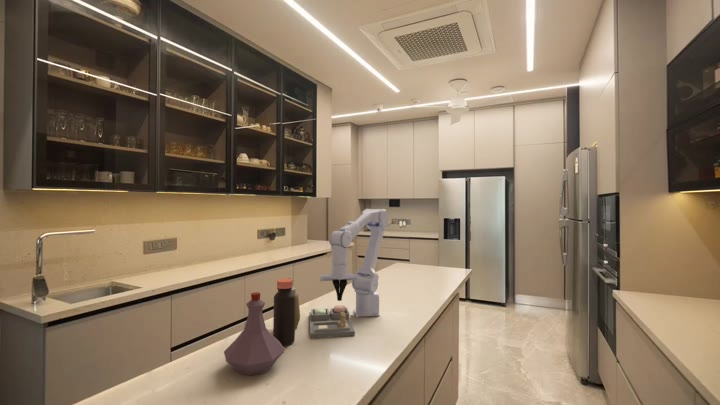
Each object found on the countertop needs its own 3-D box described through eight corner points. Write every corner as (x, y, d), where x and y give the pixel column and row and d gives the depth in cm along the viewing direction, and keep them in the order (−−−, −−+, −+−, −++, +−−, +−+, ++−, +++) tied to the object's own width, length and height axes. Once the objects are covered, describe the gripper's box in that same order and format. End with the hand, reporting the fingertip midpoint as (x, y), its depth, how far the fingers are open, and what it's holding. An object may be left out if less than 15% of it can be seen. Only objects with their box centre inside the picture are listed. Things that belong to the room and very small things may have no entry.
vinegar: (268, 344, 103) (269, 281, 104) (281, 336, 110) (281, 277, 110) (287, 348, 101) (288, 283, 101) (298, 339, 108) (299, 279, 108)
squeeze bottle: (304, 326, 119) (305, 277, 120) (291, 334, 112) (291, 281, 112) (286, 322, 123) (287, 275, 123) (272, 330, 116) (273, 279, 116)
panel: (346, 314, 133) (346, 305, 133) (354, 335, 111) (354, 325, 111) (309, 316, 131) (309, 307, 131) (310, 338, 109) (310, 327, 109)
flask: (262, 348, 101) (263, 283, 101) (297, 365, 91) (298, 293, 91) (210, 368, 88) (211, 294, 89) (243, 390, 78) (245, 306, 78)
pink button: (344, 310, 129) (344, 305, 129) (345, 313, 125) (346, 308, 125) (333, 310, 128) (333, 305, 128) (334, 314, 124) (334, 309, 124)
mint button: (325, 313, 128) (325, 308, 128) (326, 317, 124) (326, 312, 124) (314, 314, 127) (314, 308, 127) (314, 317, 123) (314, 312, 123)
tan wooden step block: (346, 322, 119) (346, 311, 119) (348, 328, 114) (348, 315, 114) (337, 323, 118) (338, 311, 118) (339, 328, 113) (339, 316, 113)
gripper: (320, 265, 116) (320, 303, 116) (360, 265, 118) (360, 302, 118) (320, 262, 123) (319, 298, 123) (358, 261, 125) (357, 297, 125)
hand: (339, 300), depth 121 cm, fingers closed
